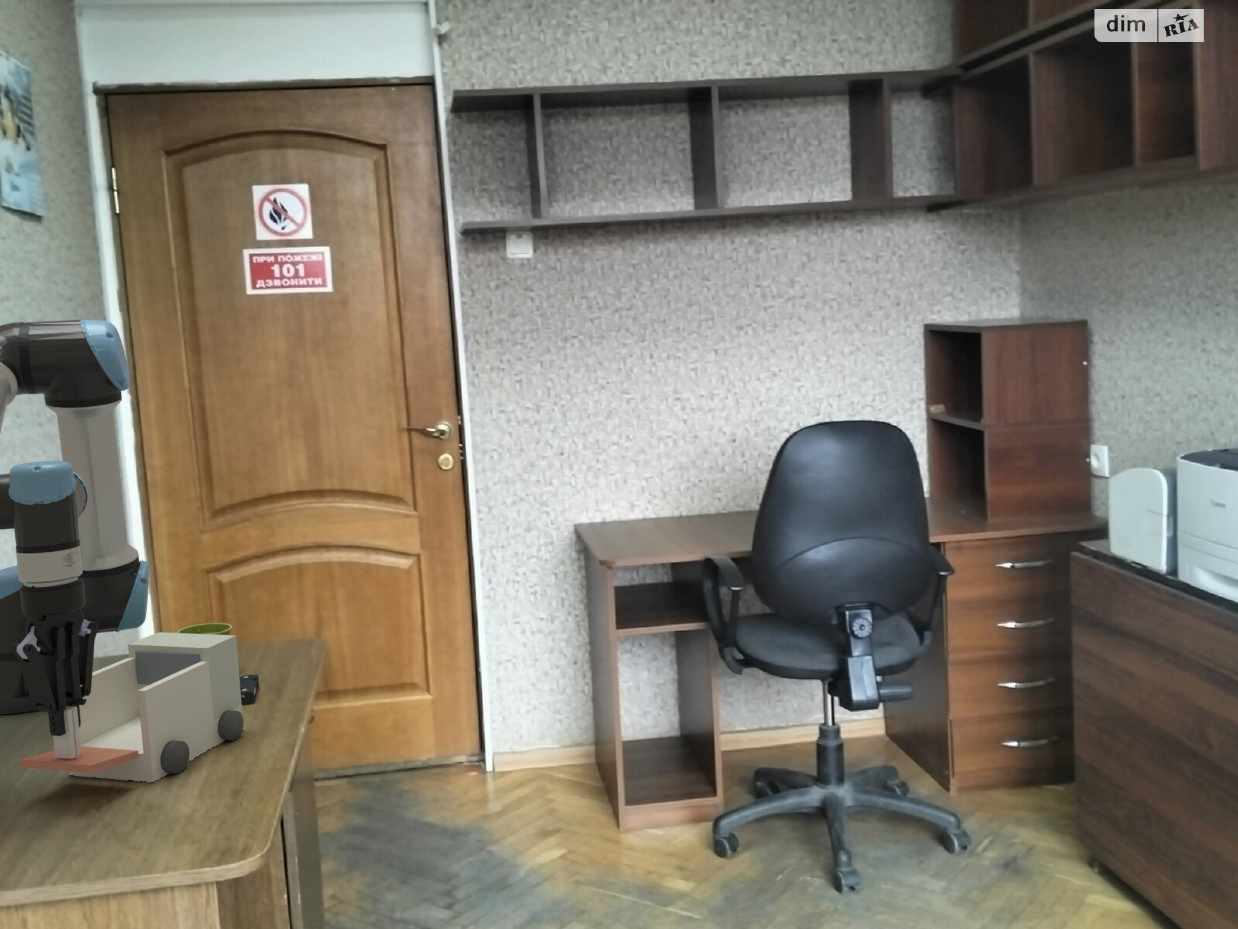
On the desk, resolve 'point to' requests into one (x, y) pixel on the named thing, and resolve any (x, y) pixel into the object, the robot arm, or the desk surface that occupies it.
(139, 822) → the desk surface
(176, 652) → the truck
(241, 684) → the disk drive
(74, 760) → the panel
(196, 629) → the plant pot
